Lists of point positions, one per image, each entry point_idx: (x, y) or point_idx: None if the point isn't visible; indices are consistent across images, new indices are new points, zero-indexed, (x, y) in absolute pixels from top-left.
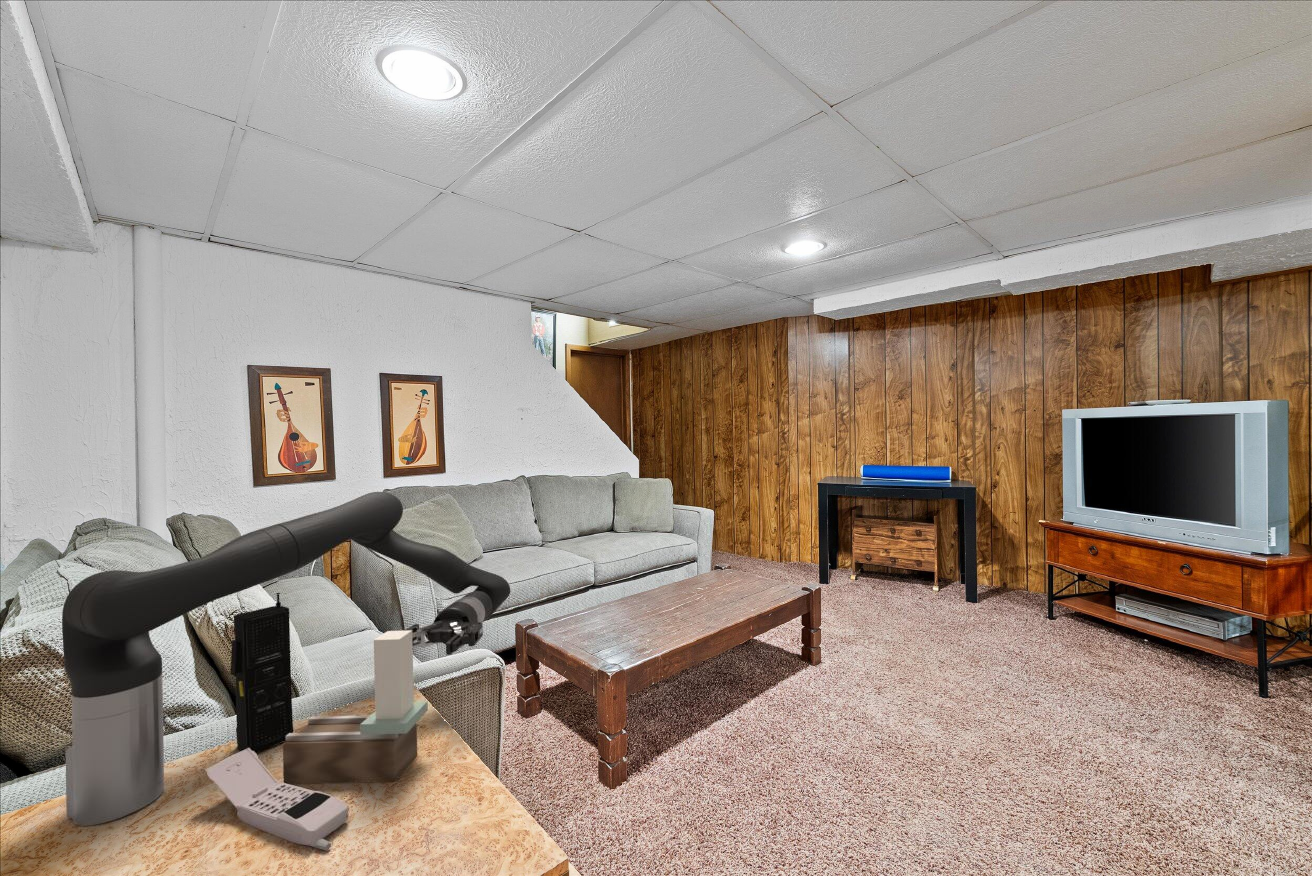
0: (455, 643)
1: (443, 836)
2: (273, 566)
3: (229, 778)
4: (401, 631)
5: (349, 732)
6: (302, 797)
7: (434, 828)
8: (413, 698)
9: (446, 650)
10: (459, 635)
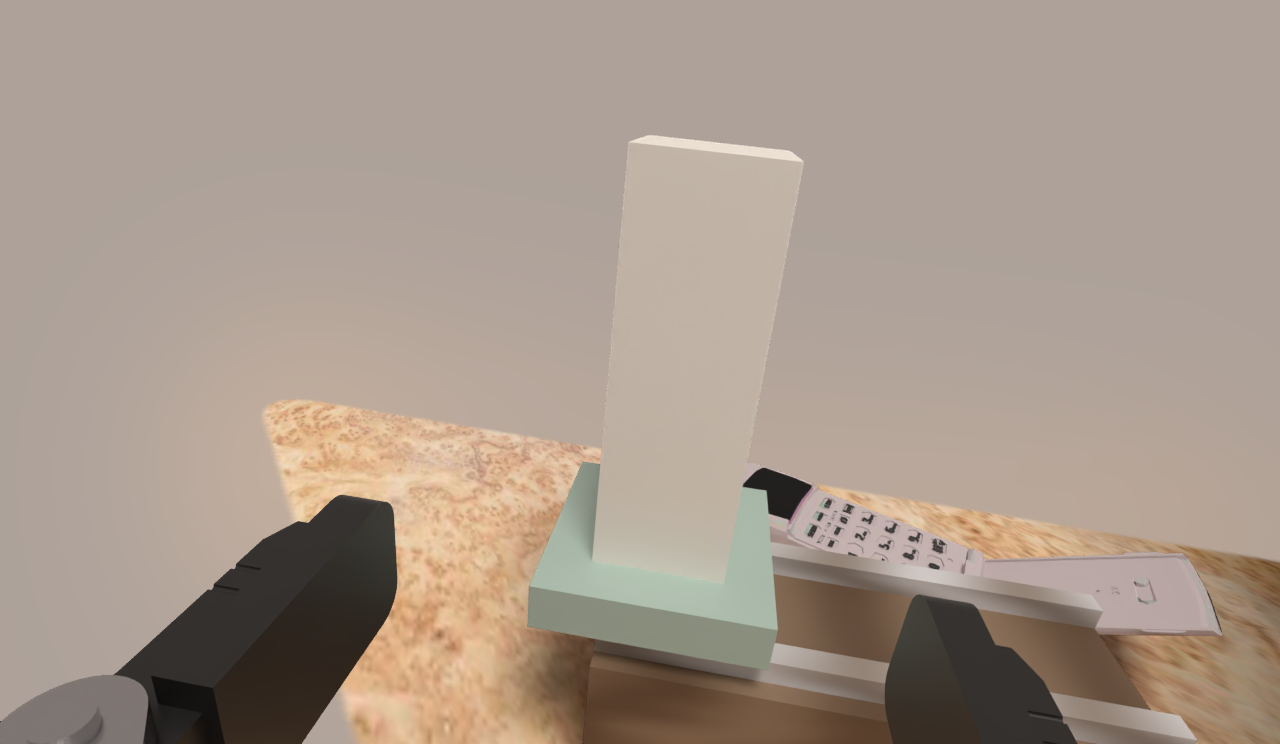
0: (274, 538)
1: (447, 462)
2: None
3: (1099, 576)
4: (695, 149)
5: (826, 561)
6: (816, 528)
7: (466, 480)
8: (595, 525)
9: (391, 559)
10: (123, 688)
